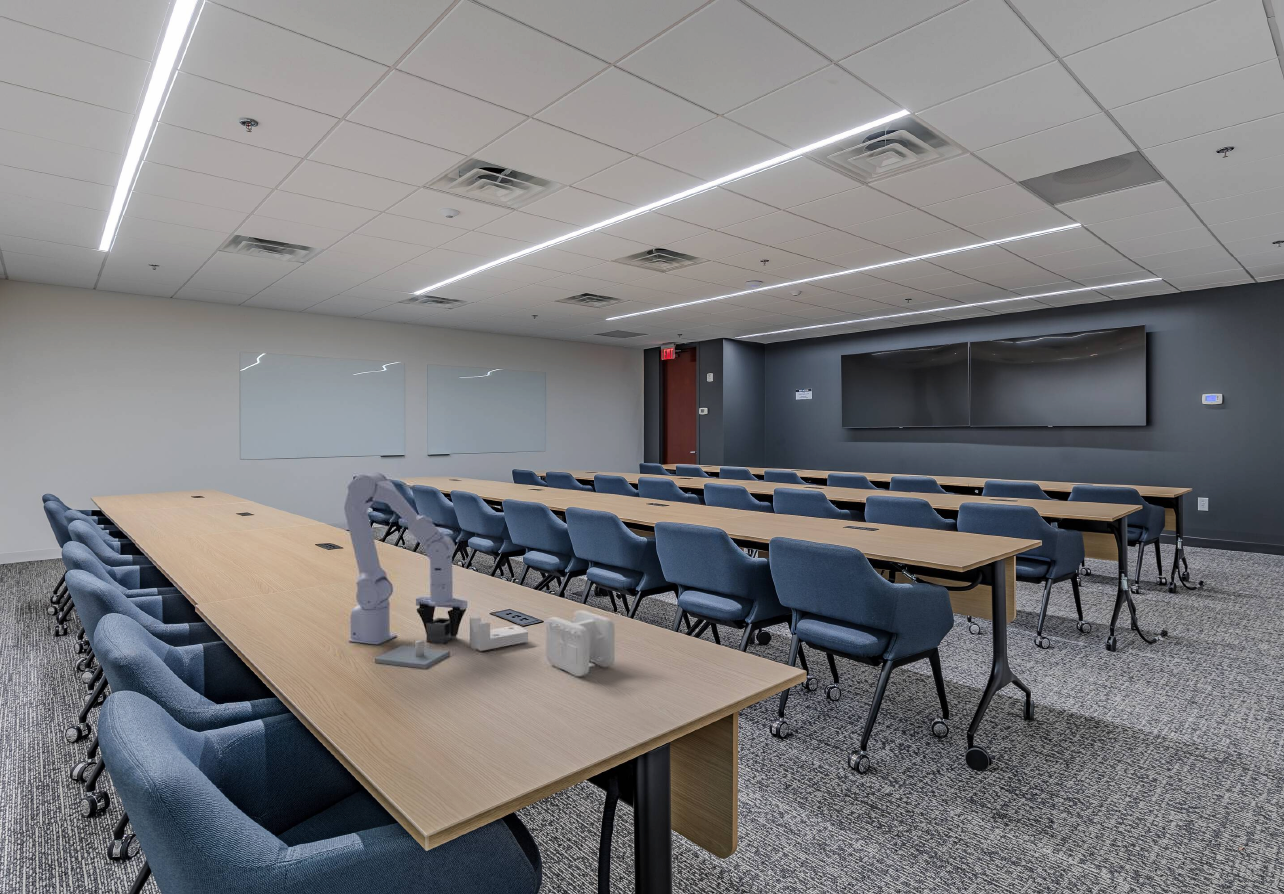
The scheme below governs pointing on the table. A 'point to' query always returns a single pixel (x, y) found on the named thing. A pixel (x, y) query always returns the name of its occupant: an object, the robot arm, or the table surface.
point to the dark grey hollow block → (439, 631)
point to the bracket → (494, 635)
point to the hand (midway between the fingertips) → (441, 633)
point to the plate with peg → (412, 656)
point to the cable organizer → (580, 642)
